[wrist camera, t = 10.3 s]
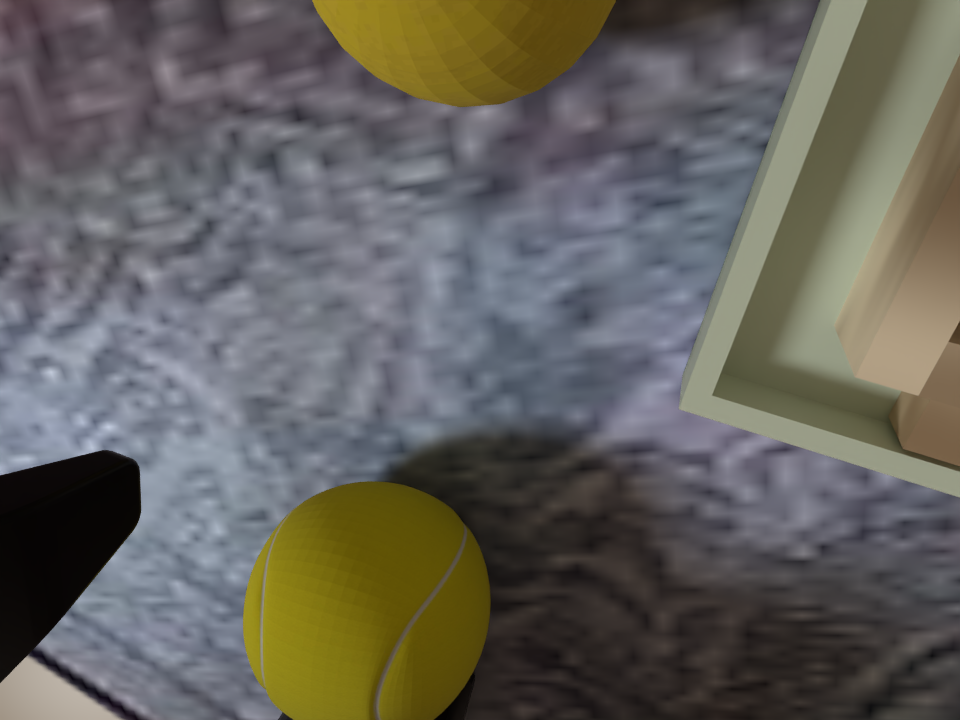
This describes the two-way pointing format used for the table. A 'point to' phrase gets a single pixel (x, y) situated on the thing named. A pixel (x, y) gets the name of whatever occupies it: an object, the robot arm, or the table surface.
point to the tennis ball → (367, 606)
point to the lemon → (465, 43)
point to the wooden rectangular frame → (916, 293)
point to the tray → (824, 238)
